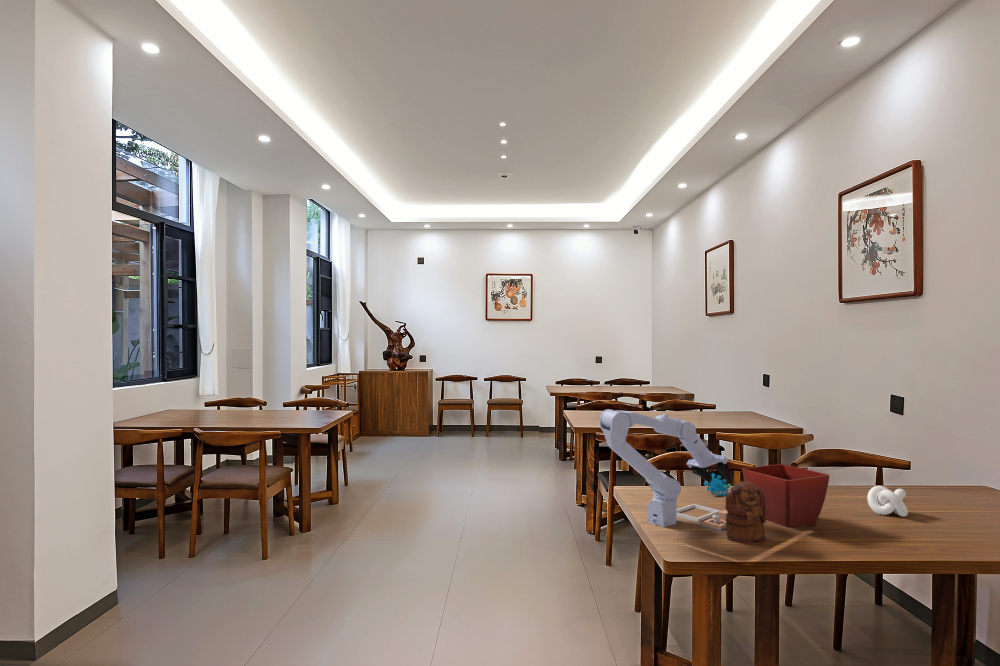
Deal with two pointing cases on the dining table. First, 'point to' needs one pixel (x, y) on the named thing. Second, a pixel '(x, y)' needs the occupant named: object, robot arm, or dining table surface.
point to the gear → (717, 485)
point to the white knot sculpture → (887, 501)
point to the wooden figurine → (745, 514)
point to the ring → (721, 521)
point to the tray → (714, 511)
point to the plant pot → (789, 493)
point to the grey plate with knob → (716, 521)
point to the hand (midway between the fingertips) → (720, 480)
